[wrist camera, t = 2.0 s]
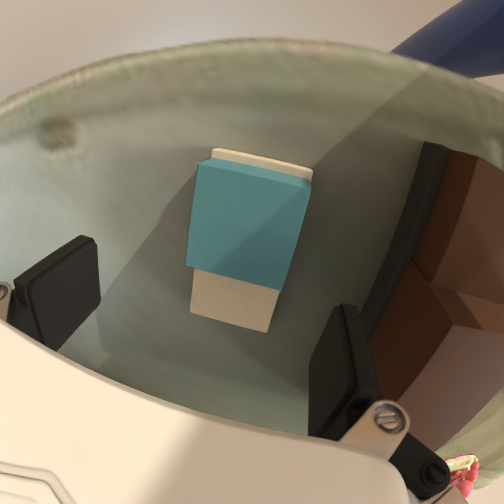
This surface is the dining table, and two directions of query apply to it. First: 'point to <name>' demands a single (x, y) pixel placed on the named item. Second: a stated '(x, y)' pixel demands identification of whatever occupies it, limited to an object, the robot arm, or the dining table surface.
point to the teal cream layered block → (244, 235)
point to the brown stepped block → (442, 296)
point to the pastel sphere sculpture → (463, 473)
